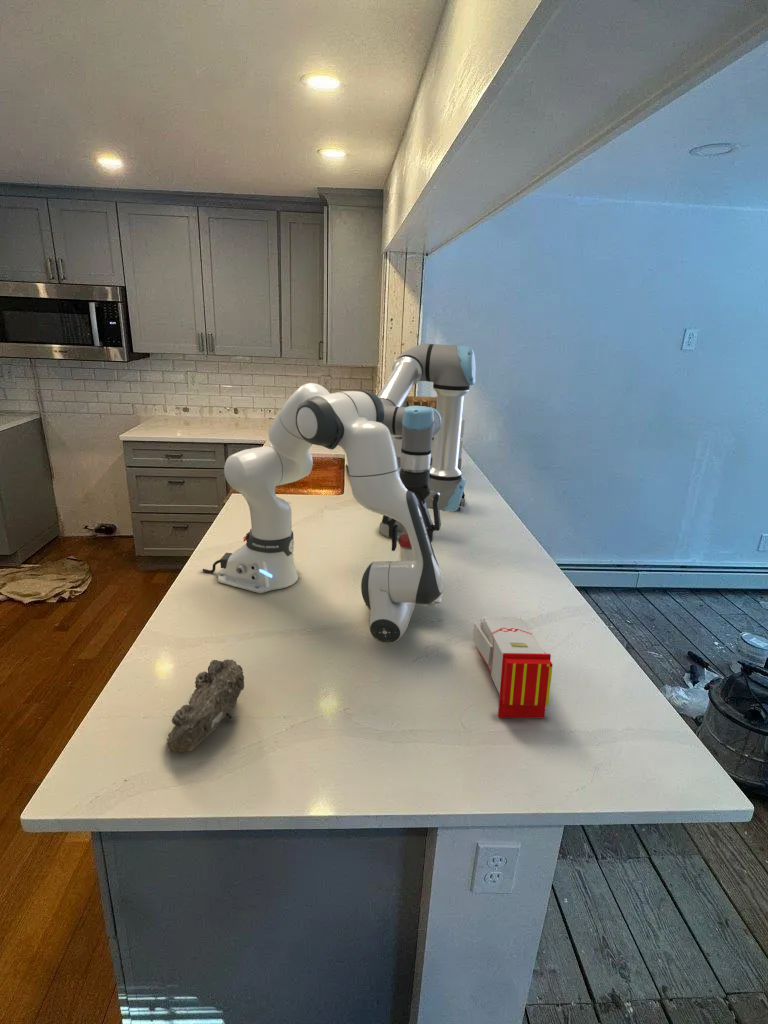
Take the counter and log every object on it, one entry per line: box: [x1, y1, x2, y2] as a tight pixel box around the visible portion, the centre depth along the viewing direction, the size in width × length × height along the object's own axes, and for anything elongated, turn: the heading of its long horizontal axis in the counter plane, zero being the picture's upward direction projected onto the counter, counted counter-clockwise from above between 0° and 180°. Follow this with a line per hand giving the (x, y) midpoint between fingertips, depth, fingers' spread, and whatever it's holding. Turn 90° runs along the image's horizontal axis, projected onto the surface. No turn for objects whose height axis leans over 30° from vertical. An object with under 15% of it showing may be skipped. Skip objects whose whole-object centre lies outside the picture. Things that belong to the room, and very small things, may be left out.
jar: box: [398, 544, 415, 561], centre depth 153 cm, size 6×6×17 cm
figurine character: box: [457, 490, 466, 511], centre depth 229 cm, size 7×8×15 cm
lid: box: [398, 533, 412, 548], centre depth 150 cm, size 6×6×2 cm
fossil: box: [166, 658, 245, 754], centre depth 106 cm, size 22×10×15 cm
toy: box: [472, 616, 553, 719], centre depth 122 cm, size 12×13×30 cm
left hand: (408, 575), depth 154 cm, fingers closed on jar, 5 cm apart
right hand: (409, 551), depth 151 cm, fingers open, 8 cm apart
